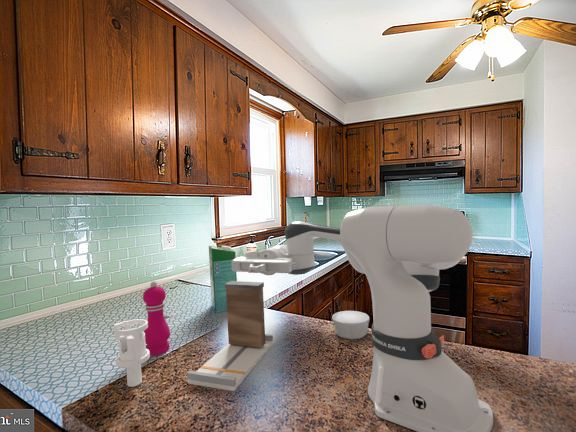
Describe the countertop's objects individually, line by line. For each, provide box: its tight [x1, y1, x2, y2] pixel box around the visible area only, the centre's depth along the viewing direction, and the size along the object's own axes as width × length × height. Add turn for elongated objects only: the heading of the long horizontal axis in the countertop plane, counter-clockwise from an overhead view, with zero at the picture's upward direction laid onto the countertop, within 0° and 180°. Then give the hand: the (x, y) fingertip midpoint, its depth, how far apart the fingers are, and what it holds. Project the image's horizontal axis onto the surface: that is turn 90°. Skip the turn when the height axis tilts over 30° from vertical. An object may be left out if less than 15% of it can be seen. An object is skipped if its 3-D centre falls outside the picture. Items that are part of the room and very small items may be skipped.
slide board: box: [186, 333, 274, 392], centre depth 81 cm, size 24×12×2 cm, turn 162°
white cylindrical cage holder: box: [113, 318, 151, 388], centre depth 72 cm, size 7×7×15 cm
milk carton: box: [208, 245, 238, 313], centre depth 124 cm, size 9×9×25 cm
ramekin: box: [331, 310, 370, 340], centre depth 95 cm, size 11×11×5 cm
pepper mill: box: [142, 281, 171, 356], centre depth 88 cm, size 7×7×20 cm
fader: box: [225, 280, 266, 348], centre depth 87 cm, size 4×10×17 cm, turn 72°
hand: (252, 270), depth 93 cm, fingers closed
